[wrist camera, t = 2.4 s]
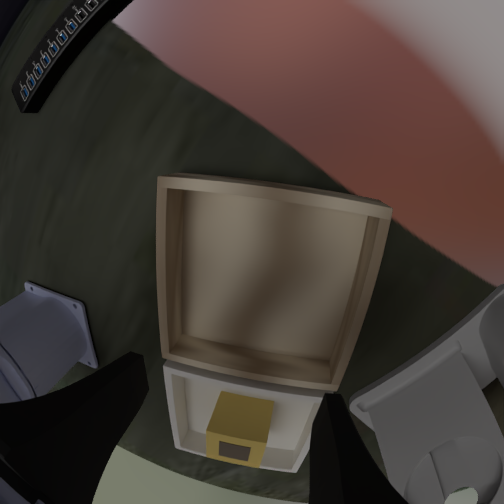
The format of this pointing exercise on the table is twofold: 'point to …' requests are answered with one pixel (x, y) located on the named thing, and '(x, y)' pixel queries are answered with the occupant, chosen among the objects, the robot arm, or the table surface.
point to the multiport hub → (61, 49)
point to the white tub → (212, 383)
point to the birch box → (265, 276)
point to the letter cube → (239, 429)
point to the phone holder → (443, 412)
